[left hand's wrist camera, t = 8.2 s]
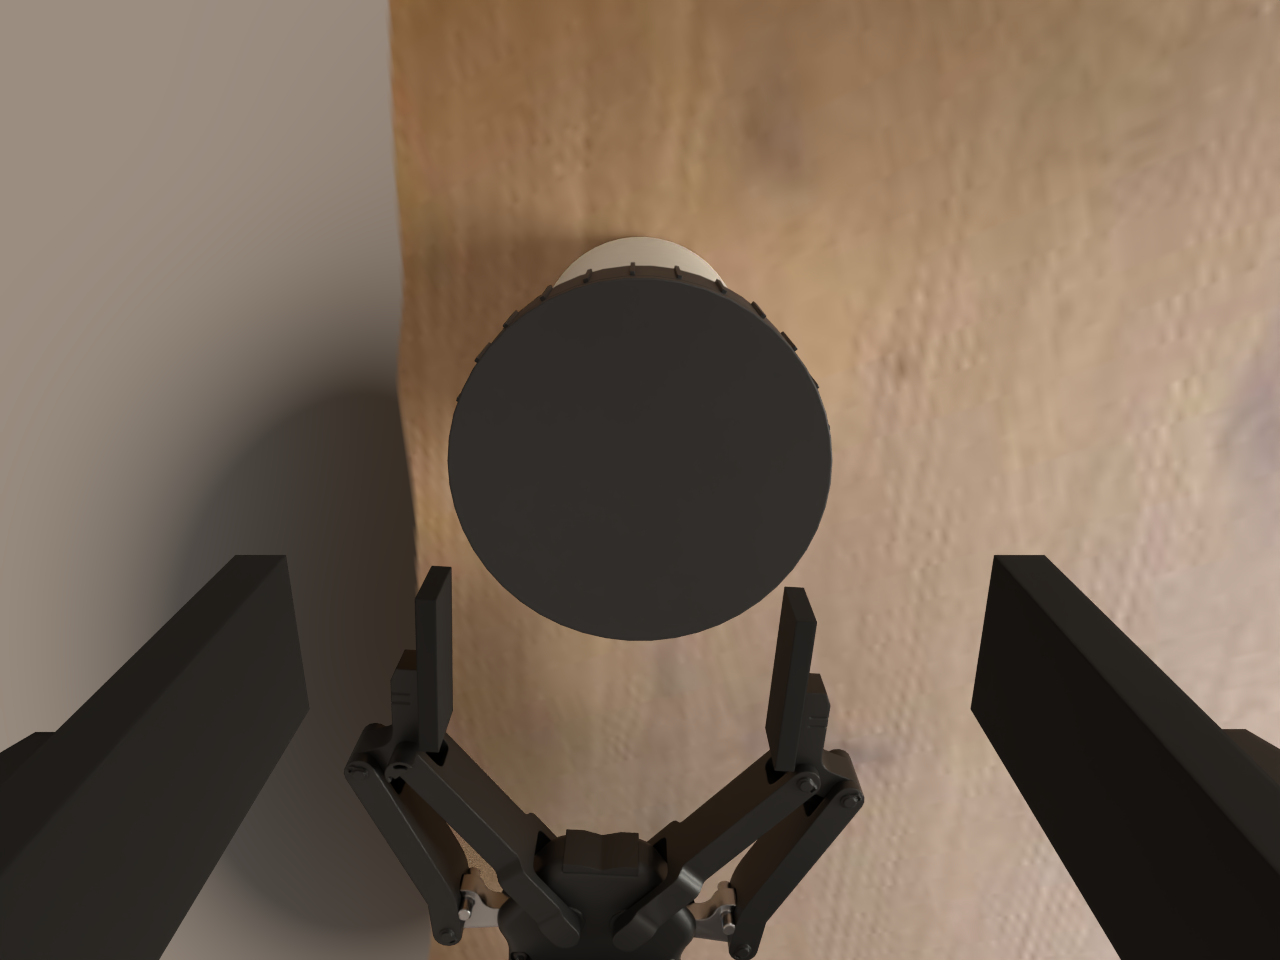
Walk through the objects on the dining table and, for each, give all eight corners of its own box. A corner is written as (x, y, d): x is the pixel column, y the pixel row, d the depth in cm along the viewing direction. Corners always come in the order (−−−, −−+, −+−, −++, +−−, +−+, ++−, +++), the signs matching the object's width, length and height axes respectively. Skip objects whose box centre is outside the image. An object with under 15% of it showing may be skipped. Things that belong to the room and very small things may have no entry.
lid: (489, 226, 21) (471, 235, 19) (858, 302, 22) (884, 318, 19) (444, 566, 24) (423, 609, 22) (768, 623, 25) (781, 670, 22)
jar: (557, 217, 34) (495, 263, 19) (760, 259, 35) (850, 334, 20) (526, 414, 37) (450, 586, 22) (714, 450, 37) (763, 641, 22)
